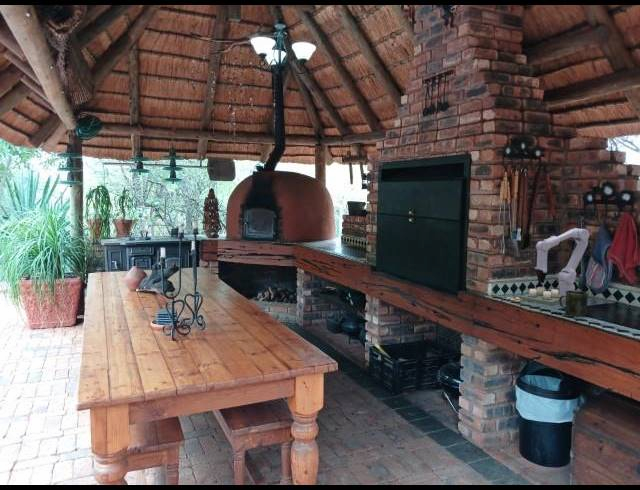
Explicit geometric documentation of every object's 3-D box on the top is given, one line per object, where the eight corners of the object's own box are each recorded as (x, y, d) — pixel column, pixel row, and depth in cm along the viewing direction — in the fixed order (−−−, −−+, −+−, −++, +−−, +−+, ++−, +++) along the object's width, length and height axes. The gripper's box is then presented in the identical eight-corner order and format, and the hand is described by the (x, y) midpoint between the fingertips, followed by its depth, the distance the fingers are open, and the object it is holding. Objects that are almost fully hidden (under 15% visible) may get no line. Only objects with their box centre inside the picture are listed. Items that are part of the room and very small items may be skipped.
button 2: (545, 298, 304) (545, 290, 304) (551, 299, 301) (552, 291, 300) (541, 298, 302) (542, 291, 301) (548, 300, 298) (548, 292, 298)
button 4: (531, 295, 311) (531, 288, 311) (537, 296, 308) (537, 289, 307) (527, 296, 309) (528, 289, 308) (534, 297, 306) (534, 290, 305)
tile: (512, 297, 317) (513, 296, 317) (526, 299, 310) (526, 298, 310) (504, 298, 311) (504, 297, 311) (518, 301, 304) (518, 300, 304)
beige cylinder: (539, 293, 317) (539, 286, 316) (545, 294, 313) (545, 287, 313) (535, 294, 314) (536, 287, 314) (541, 295, 311) (542, 288, 310)
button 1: (553, 296, 309) (553, 289, 309) (559, 297, 306) (559, 290, 306) (549, 297, 307) (550, 289, 307) (556, 298, 304) (556, 290, 303)
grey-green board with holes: (536, 295, 322) (536, 292, 321) (567, 300, 306) (568, 297, 306) (519, 299, 310) (519, 296, 309) (550, 305, 294) (551, 301, 294)
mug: (591, 316, 267) (592, 294, 266) (562, 316, 268) (563, 294, 267) (582, 311, 278) (583, 290, 276) (554, 311, 279) (555, 290, 278)
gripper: (531, 259, 319) (531, 280, 321) (538, 262, 305) (537, 284, 306) (543, 259, 318) (542, 280, 320) (550, 262, 304) (549, 284, 305)
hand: (541, 282), depth 313 cm, fingers open, 3 cm apart
